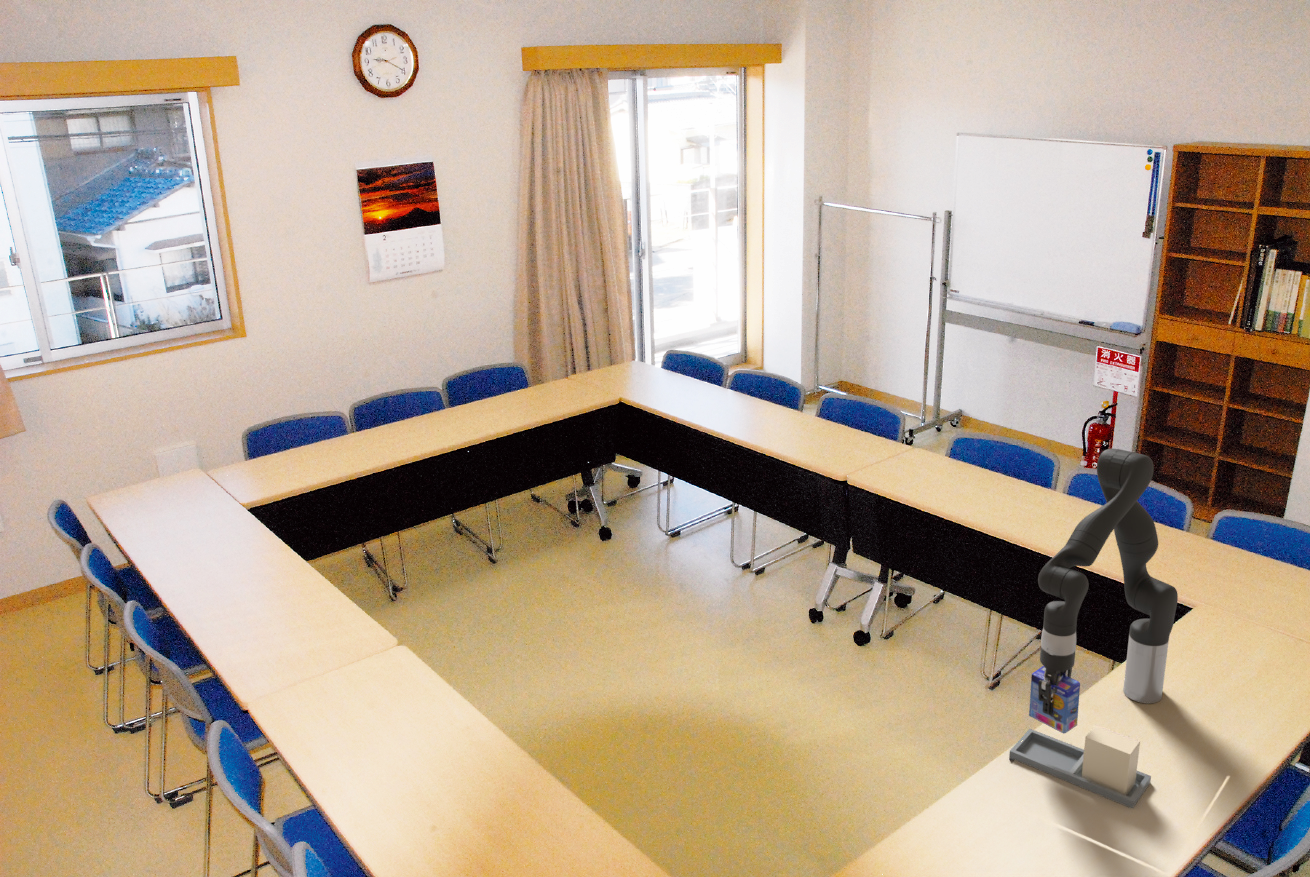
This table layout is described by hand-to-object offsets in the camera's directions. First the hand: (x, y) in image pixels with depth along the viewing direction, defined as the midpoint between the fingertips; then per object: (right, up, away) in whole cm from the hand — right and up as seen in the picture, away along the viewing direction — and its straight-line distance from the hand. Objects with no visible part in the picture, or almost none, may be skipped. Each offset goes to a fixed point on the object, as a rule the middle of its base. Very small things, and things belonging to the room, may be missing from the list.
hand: (1053, 706), depth 246 cm
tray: (+6, -16, +1) cm, 17 cm away
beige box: (+11, -16, -4) cm, 20 cm away
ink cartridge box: (0, -4, +2) cm, 4 cm away
